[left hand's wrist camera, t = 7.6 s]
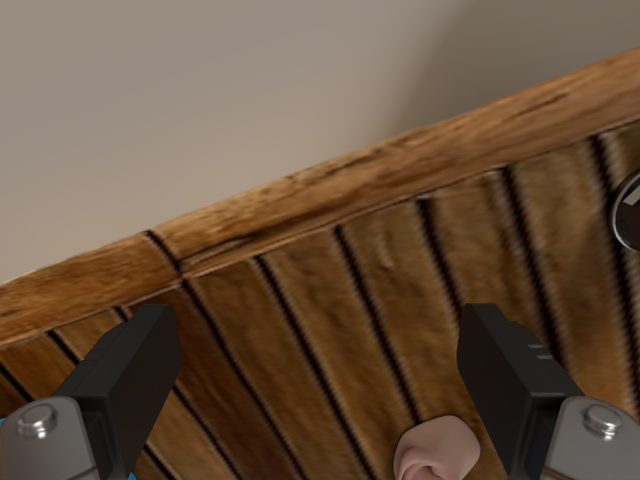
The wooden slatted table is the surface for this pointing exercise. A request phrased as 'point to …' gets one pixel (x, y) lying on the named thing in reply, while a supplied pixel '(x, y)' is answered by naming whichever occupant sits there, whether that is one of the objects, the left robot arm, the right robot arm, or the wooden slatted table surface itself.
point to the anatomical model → (436, 451)
